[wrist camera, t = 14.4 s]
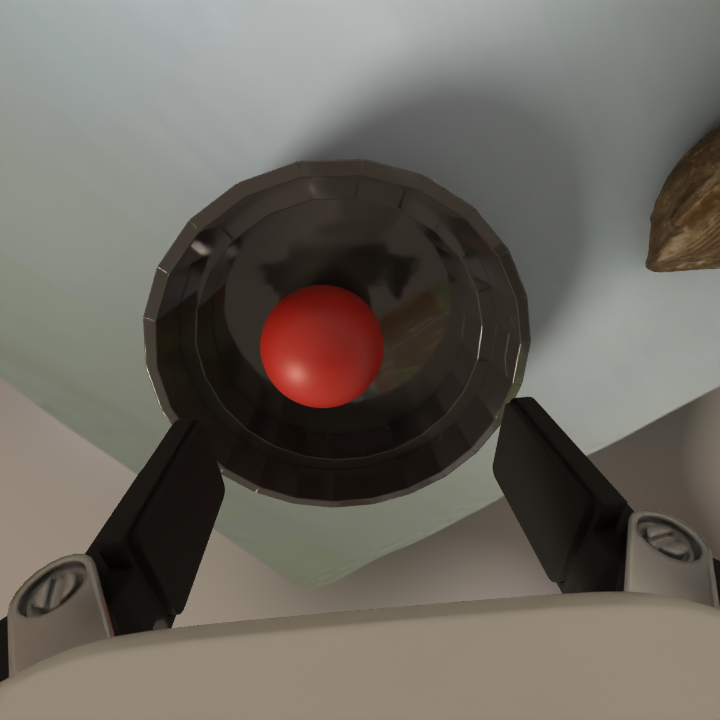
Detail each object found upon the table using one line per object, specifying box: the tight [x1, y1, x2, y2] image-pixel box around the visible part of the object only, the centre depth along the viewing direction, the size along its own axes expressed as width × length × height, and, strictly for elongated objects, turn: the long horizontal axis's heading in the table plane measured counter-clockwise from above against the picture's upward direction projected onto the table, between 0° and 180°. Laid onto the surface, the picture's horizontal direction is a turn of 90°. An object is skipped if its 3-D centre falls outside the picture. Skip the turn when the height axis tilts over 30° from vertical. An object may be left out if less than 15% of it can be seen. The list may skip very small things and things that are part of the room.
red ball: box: [260, 285, 384, 408], centre depth 17 cm, size 6×6×6 cm
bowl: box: [143, 159, 531, 508], centre depth 18 cm, size 17×17×6 cm
